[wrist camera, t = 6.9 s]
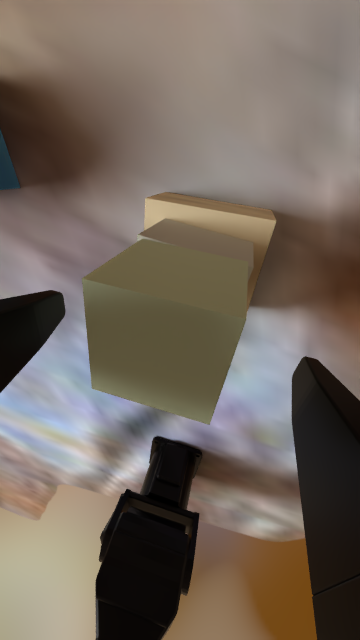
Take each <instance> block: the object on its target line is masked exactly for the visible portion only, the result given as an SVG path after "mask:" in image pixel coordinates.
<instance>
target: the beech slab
mask: <svg viewBox="0 0 360 640" xmlns="http://www.w3.org/2000/svg"><path fill="white" fill-rule="evenodd" d="M165 218H166V219H170V220H174V221H177V222H181V223H185V224H188V225H192V226H195V227H199V228H203V229H206V230H210V231H214V232H217V233H221V234H225V235H228V236H232V237H236V238H239V239H243V240H247V241H250V242H253V263H254V268H253V270H252V273H251V275H250V278H249V280H248V285H247V311H248V307H249V304H250V301H251V298H252V295H253V292H254V289H255V286H256V283H257V280H258V277H259V273H260V270H261V267H262V264H263V261H264V258H265V255H266V252H267V249H268V246H269V243H270V239H271V236H272V233H273V230H274V227H275V224H276V219H275V217H274V215H273V212H272V210H268V209H262V208H256V207H250V206H244V205H239V204H233V203H227V202H221V201H215V200H209V199H203V198H197V197H192V196H186V195H180V194H174V193H168V192H164V193H161V194H157V195H154V196H151V197H147V198H146V199H145V224H144V231H145V230H146V229H148V228H150V227H151V226H153V225H155V224H156V223H158V222H160V221H161V220H163V219H165ZM246 314H247V312H246Z"/></svg>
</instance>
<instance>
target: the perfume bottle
mask: <svg viewBox="0 0 360 640" xmlns="http://www.w3.org/2000/svg"><path fill="white" fill-rule="evenodd" d="M15 188H20V185H19V182H18V179H17V176H16V173H15V170H14V167H13V164H12V162H11V159H10V156H9V153H8V150H7V147H6V144H5V141H4V138H3V135H2V132H1V129H0V190H4V189H15Z"/></svg>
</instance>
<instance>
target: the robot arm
mask: <svg viewBox="0 0 360 640" xmlns="http://www.w3.org/2000/svg"><path fill="white" fill-rule="evenodd" d="M64 315H65V305H64V298H63V295H62V293H60V292H57V291H53V290H48V291H43V292H38V293H32V294H27V295H22V296H16V297H11V298H6V299H0V393H1V392H2V391H3V389H4V388H5V387H6V386H7V385H8V384H9V383H10V382H11V381H12V380H13V378H14V377H15V376H16V375H17V374H18V373H19V372H20V371H21V370H22V368H23V367H24V366H25V365H26V364H27V363H28V362H29V361H30V360H31V358H32V357H33V356H34V355H35V354H36V353H37V352H38V351H39V350H40V348H41V347H42V346H43V345H44V343H45V342H46V341H47V339H48V338H49V337H50V335H51V334H52V333H53V331H54V330H55V328H56V327H57V326H58V324H59V323H60V322H61V320H62V319H63V317H64ZM292 427H293V436H294V444H295V453H296V461H297V470H298V478H299V487H300V495H301V504H302V512H303V521H304V529H305V538H306V546H307V555H308V564H309V572H310V580H311V589H312V594H313V597H312V599H313V608H314V617H315V625H316V634H317V640H360V401H359V400H358V399H357V398H356V397H355V396H354V395H353V394H352V393H351V392H350V391H349V390H348V389H347V388H346V387H345V386H344V385H343V384H342V383H341V382H340V381H339V380H338V379H337V378H336V377H335V376H334V375H333V374H332V373H331V372H330V371H329V370H328V369H327V368H326V367H324V366H323V365H322V364H321V363H320V362H319V361H318V360H317V359H314V358H310V357H306V356H305V357H303V358H302V359H301V361H300V363H299V364H298V366H297V368H296V370H295V371H294V373H293V376H292ZM201 458H202V452H201V451H198V450H195V449H192V448H189V447H186V446H183V445H180V444H176V443H173V442H170V441H167V440H164V439H161V438H158V437H154V438H153V441H152V447H151V454H150V461H149V463H150V465H149V468H148V471H147V474H146V477H145V480H144V483H143V486H142V489H141V491H140V494H138V493H135V492H132V491H131V490H129V489H126V491H125V493H124V494H121V496H120V499H119V502H118V504H117V506H116V509H115V511H114V512H113V514H112V516H111V518H110V519H109V521H108V523H107V525H106V526H105V528H104V530H103V532H102V534H101V536H100V539H101V544H102V546H101V552H100V556H99V561H100V562H102V564H101V567H100V570H99V573H98V575H97V578H96V640H162V639H163V638H164V636H165V635H166V633H167V631H168V630H169V628H170V626H171V625H172V622H173V620H174V618H175V616H176V614H177V611H178V606H179V600H180V595H181V594H183V595H185V596H186V595H187V593H188V589H189V585H190V580H191V574H192V569H193V561H194V555H195V547H196V537H197V530H198V521H199V513H197V512H195V513H194V512H191V511H188V510H187V505H188V500H189V495H190V490H191V484H192V479H193V478H194V477H195V474H196V471H197V469H198V466H199V463H200V461H201ZM185 533H187V534H185Z"/></svg>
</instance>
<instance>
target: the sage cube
mask: <svg viewBox="0 0 360 640" xmlns="http://www.w3.org/2000/svg"><path fill="white" fill-rule="evenodd" d="M82 284H83V295H84V306H85V317H86V328H87V339H88V350H89V361H90V372H91V383H92V389H95V390H98V391H101V392H105V393H108V394H111V395H114V396H118V397H121V398H124V399H127V400H131V401H134V402H137V403H140V404H144V405H147V406H150V407H153V408H157V409H160V410H163V411H166V412H170V413H173V414H176V415H179V416H183V417H186V418H189V419H192V420H196V421H199V422H202V423H205V424H209V425H210V422H211V419H212V416H213V413H214V410H215V407H216V404H217V402H218V399H219V396H220V393H221V390H222V387H223V384H224V382H225V379H226V376H227V373H228V370H229V367H230V364H231V361H232V359H233V356H234V353H235V350H236V347H237V344H238V341H239V339H240V336H241V333H242V330H243V327H244V324H245V321H246V312H247V285H248V261H243V260H239V259H234V258H229V257H225V256H220V255H216V254H211V253H206V252H202V251H197V250H193V249H188V248H183V247H179V246H174V245H170V244H165V243H160V242H156V241H151V240H147V239H141V240H140V241H138V242H137V243H135V244H134V245H132V246H131V247H129V248H128V249H126V250H124V251H123V252H121V253H120V254H118V255H117V256H115V257H114V258H112V259H111V260H109V261H108V262H106V263H105V264H103V265H102V266H100V267H99V268H97V269H96V270H94V271H93V272H91V273H90V274H88V275H87V276H85V277H84V278H82Z"/></svg>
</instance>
